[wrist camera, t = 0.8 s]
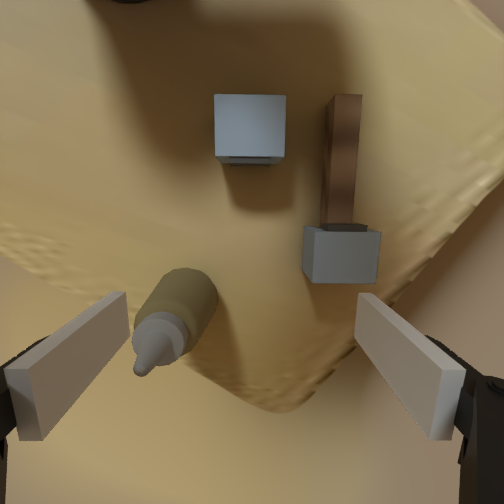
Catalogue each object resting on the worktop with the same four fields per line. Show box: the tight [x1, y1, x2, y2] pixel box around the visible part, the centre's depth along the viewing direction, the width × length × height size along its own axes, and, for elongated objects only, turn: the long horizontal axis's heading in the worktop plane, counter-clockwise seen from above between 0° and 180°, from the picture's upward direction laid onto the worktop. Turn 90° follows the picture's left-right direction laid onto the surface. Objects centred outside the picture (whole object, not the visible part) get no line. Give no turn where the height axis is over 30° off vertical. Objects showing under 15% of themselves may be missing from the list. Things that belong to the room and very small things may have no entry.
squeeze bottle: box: [132, 268, 218, 377], centre depth 28 cm, size 8×8×18 cm
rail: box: [319, 94, 362, 284], centre depth 33 cm, size 22×3×4 cm, turn 0°
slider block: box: [302, 223, 381, 284], centre depth 33 cm, size 7×7×6 cm
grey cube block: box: [214, 94, 286, 166], centre depth 30 cm, size 7×7×6 cm
